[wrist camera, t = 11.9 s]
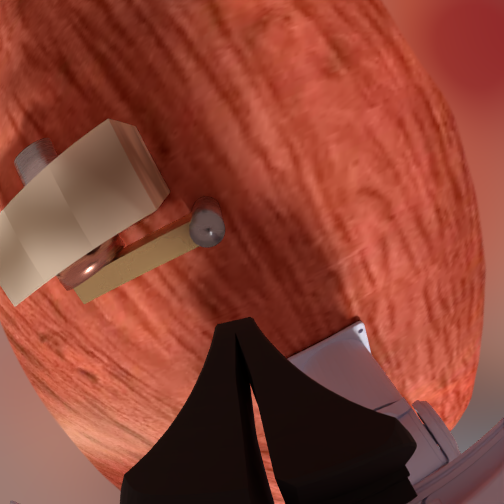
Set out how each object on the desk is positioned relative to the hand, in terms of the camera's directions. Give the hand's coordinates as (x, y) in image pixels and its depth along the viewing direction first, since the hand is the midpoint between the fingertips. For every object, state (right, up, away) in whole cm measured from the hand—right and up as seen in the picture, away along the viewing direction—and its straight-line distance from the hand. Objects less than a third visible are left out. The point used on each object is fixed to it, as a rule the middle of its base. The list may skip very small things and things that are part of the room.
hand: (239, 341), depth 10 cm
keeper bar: (-6, +4, +8) cm, 11 cm away
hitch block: (-11, +7, +6) cm, 14 cm away
